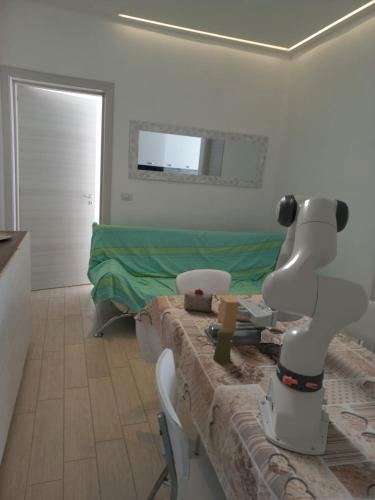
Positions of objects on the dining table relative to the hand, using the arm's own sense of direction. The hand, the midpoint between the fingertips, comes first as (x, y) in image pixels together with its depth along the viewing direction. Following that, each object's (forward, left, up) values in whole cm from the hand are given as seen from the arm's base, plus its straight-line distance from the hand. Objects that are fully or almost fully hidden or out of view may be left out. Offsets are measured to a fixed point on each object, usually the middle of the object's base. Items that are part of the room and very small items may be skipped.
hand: (234, 311), depth 134 cm
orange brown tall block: (-1, +2, -9) cm, 10 cm away
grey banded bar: (+1, -2, -10) cm, 10 cm away
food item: (+23, +19, -11) cm, 32 cm away
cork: (-19, +1, -11) cm, 22 cm away
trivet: (+30, -2, -12) cm, 33 cm away
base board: (+1, -2, -11) cm, 11 cm away
